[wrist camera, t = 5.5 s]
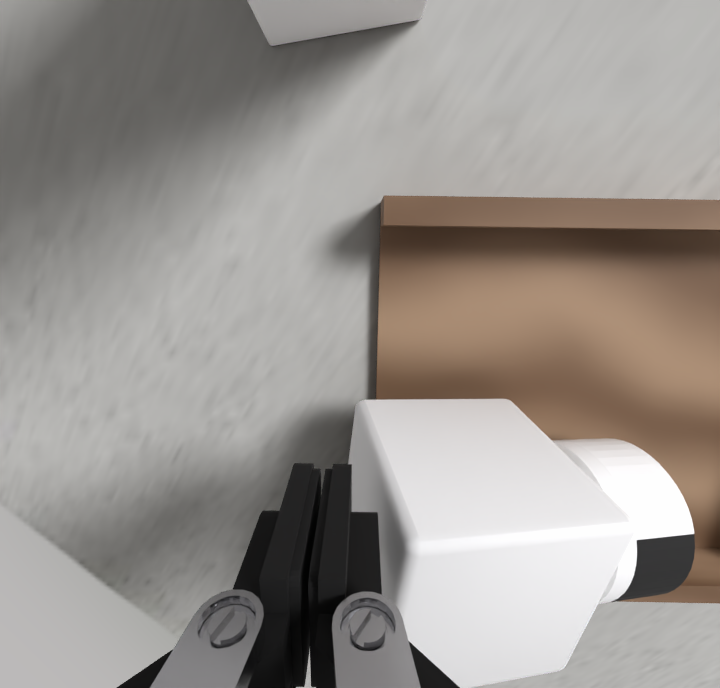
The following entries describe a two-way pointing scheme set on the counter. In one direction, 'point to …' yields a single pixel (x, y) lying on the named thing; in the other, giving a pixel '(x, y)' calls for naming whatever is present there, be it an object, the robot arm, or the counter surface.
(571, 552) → the medicine bottle
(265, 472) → the counter surface
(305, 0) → the milk
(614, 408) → the walnut tray
